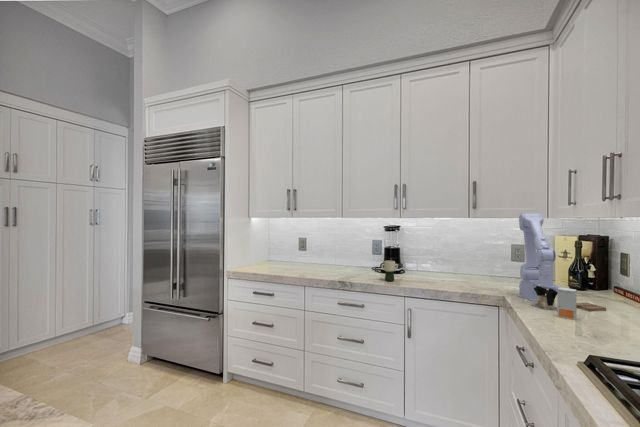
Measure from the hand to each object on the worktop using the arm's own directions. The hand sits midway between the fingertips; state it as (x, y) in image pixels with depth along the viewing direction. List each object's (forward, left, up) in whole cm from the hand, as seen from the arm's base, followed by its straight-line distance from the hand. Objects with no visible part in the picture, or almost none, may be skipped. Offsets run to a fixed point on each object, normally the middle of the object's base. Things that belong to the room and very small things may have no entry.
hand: (546, 304), depth 155 cm
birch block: (0, 0, -1) cm, 1 cm away
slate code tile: (0, 0, -2) cm, 2 cm away
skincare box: (+15, -5, -2) cm, 16 cm away
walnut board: (+5, +17, -2) cm, 18 cm away
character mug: (-75, -47, -2) cm, 88 cm away
